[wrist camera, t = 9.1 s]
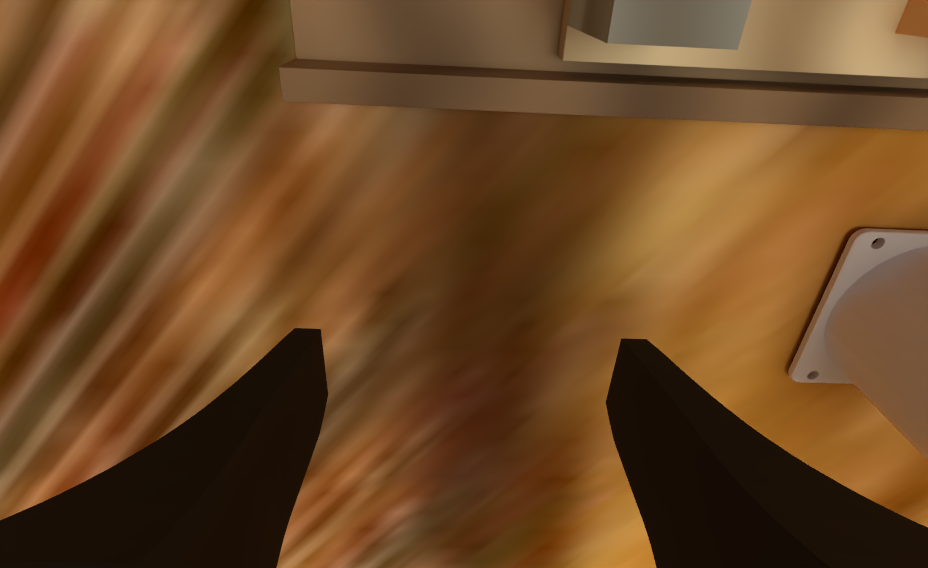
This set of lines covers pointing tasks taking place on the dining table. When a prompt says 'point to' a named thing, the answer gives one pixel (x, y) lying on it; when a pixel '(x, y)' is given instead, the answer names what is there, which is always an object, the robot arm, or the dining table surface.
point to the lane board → (553, 70)
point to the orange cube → (914, 19)
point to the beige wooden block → (746, 35)
